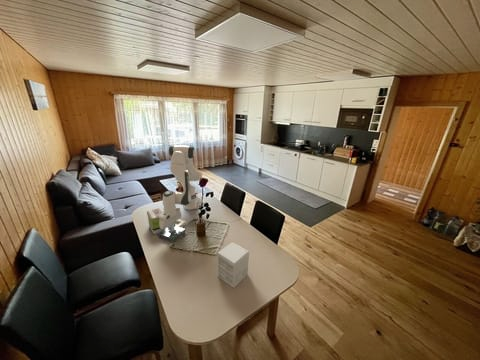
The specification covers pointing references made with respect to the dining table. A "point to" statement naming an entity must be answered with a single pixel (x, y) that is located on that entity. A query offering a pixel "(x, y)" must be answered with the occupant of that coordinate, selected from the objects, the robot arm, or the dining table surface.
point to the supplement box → (233, 264)
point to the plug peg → (172, 228)
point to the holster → (180, 223)
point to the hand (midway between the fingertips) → (171, 228)
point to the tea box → (154, 220)
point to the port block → (172, 237)
